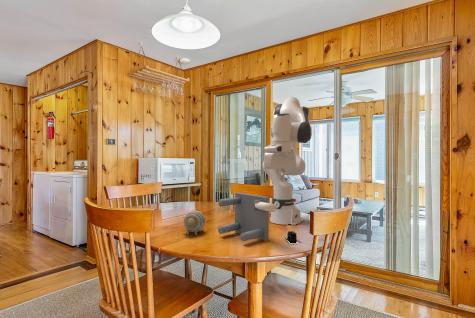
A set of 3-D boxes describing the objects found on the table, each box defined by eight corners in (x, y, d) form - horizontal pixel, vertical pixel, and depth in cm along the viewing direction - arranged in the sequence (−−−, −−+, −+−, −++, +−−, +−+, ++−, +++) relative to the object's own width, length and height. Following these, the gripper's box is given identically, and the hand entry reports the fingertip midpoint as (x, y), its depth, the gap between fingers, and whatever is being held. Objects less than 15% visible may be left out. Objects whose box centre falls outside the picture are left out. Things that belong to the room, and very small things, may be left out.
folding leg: (252, 209, 125) (252, 200, 124) (257, 208, 127) (257, 199, 127) (271, 213, 117) (271, 203, 117) (276, 212, 119) (276, 202, 119)
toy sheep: (179, 237, 129) (179, 213, 129) (189, 227, 145) (189, 207, 145) (201, 238, 128) (201, 214, 128) (208, 228, 145) (208, 207, 144)
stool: (238, 230, 141) (238, 192, 141) (268, 239, 127) (269, 197, 127) (216, 236, 131) (217, 195, 131) (247, 246, 117) (247, 200, 116)
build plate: (280, 238, 131) (280, 228, 131) (294, 237, 132) (294, 228, 132) (289, 246, 119) (289, 236, 119) (305, 246, 120) (305, 236, 120)
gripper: (288, 149, 133) (288, 177, 133) (261, 147, 119) (261, 179, 119) (299, 149, 129) (299, 178, 129) (273, 147, 114) (272, 180, 114)
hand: (280, 178), depth 124 cm, fingers closed
